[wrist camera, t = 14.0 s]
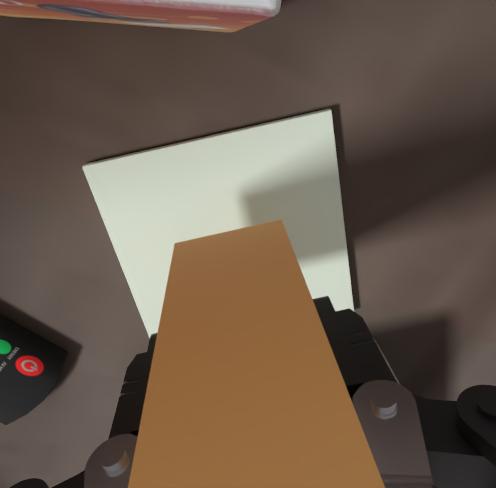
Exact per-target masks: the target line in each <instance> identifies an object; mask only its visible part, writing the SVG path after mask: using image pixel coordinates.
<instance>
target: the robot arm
mask: <svg viewBox="0 0 496 488" xmlns="http://www.w3.org/2000/svg"><path fill="white" fill-rule="evenodd" d="M312 300H313V302H314V305H315V307H316V310H317V312H318V315H319V318H320V320H321V323H322V325H323V328H324V331H325V333H326V336H327V338H328V341H329V344H330V346H331V349H332V351H333V354H334V357H335V359H336V362H337V364H338V367H339V370H340V372H341V375H342V377H343V380H344V382H345V385H346V388H347V390H348V393H349V395H350V398H351V401H352V403H353V406H354V408H355V411H356V414H357V416H358V419H359V421H360V424H361V427H362V429H363V432H364V434H365V437H366V440H367V442H368V445H369V447H370V450H371V453H372V455H373V458H374V460H375V463H376V465H377V468H378V471H379V473H380V476H381V478H382V481H383V484H384V486H385V488H496V386H491V385H477V386H473V387H470V388H467V389H465V390H464V391H463V392H462V393H461V394H460V395H459V397H458V399H457V401H442V400H430V399H425V398H421V397H418V396H415V395H413V394H412V393H411V392H410V391H409V390H408V389H407V388H406V387H404V386H402V385H401V384H399V383H398V382H397V381H396V379H395V377H394V375H393V374H392V372H391V370H390V368H389V366H388V364H387V362H386V361H385V359H384V357H383V355H382V353H381V351H380V349H379V348H378V346H377V344H376V342H375V341H374V338H373V337H372V335H371V333H370V332H369V329H368V327H367V325H366V324H365V322H364V320H363V318H362V317H361V316H360V315H358V314H357V313H355V312H354V311H353V310H351V309H350V308H349V309H344V310H340V311H335V309H334V307H333V305H332V303H331V300H330V298H329V297H328V296H325V297H320V298H315V299H312ZM156 338H157V333H154V334H151V337H150V341H149V346H148V350H147V352H145V353H141V354H137V355H136V357H135V358H134V359H133V361H132V362H131V363H130V365H129V366H128V368H127V371H126V375H125V378H124V385H123V386H122V390H121V396H120V397H119V401H118V405H117V409H116V413H115V416H114V420H113V424H112V428H111V432H110V435H109V439H108V440H107V441H105V442H103V443H102V444H101V445H100V446H99V447H98V448H97V449H96V450H95V451H94V452H93V453H92V454H91V456H90V458H89V459H88V461H87V464H86V467H85V470H84V471H83V472H81V473H79V474H78V475H76V476H74V477H72V478H70V479H68V480H66V481H64V482H62V483H60V484H58V485H56V486H54V487H52V488H128V485H129V479H130V474H131V469H132V464H133V458H134V453H135V448H136V443H137V438H138V432H139V427H140V422H141V417H142V411H143V406H144V401H145V396H146V390H147V385H148V380H149V375H150V370H151V364H152V359H153V354H154V349H155V343H156ZM10 488H49V487H48V485H47V484H46V483H45V482H44V481H43V480H41V479H37V478H32V479H27V480H23V481H21V482H19V483H17V484H15V485H13V486H11V487H10Z"/></svg>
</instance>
